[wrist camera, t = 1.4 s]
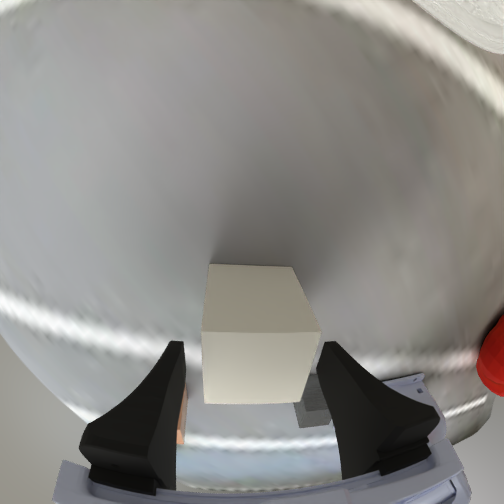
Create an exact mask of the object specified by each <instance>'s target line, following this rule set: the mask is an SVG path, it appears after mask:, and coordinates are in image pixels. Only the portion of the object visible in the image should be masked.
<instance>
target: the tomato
mask: <svg viewBox="0 0 504 504" xmlns="http://www.w3.org/2000/svg"><path fill="white" fill-rule="evenodd" d="M476 368H477V372H478V375H479V377H480V379H481V380H482V382H483V384H484V385H485V386H486V387H487V388H489V389H490V390H491V391H492V392H493V393H495V394H497V395H499V396H502V397H503V396H504V315H503V316H501V318H500V319H499V321H498V323H497V324H496V326H495V327H494V328H493V329H492V330H491V331H490V332H489V334H488V335H487V336H486V338H485V340H484V343H483V345H482V347H481V350H480V354H479V357H478V359H477V365H476Z"/></svg>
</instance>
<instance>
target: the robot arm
mask: <svg viewBox="0 0 504 504" xmlns="http://www.w3.org/2000/svg"><path fill="white" fill-rule="evenodd" d="M316 370H317V375H318V379H319V384H320V387H321V390H322V393H323V395H324V398H325V401H326V403H327V406H328V409H329V412H330V414H331V417H332V420H333V424H334V426H333V429H334V430H335V433H336V437H337V442H338V448H339V454H340V461H341V471H342V480H341V481H337V482H332V483H327V484H322V485H317V486H311V487H305V488H299V489H291V490H283V491H273V492H260V493H236V494H223V493H218V494H217V493H197V492H183V491H176V443H177V427H178V420H179V415H180V409H181V404H182V399H183V394H184V388H185V378H186V363H185V353H184V343H183V341H170V342H169V344H168V346H167V347H166V349H165V351H164V353H163V354H162V356H161V357H160V359H159V360H158V362H157V363H156V365H155V366H154V367H153V369H152V370H151V371H150V373H149V374H148V375H147V376H146V378H145V379H144V380H143V381H142V382H141V384H140V385H139V386H138V387H137V388H136V389H135V390H134V391H133V392H132V393H131V394H130V395H129V396H128V397H126V398H125V399H124V400H123V401H122V402H121V403H120V404H118V405H117V406H116V407H114V408H113V409H111V410H110V411H109V412H107V413H106V414H104V415H103V416H101V417H99V418H98V419H96V420H94V421H92V422H91V423H89V424H88V425H87V427H86V429H85V430H84V433H83V435H82V439H81V442H80V445H79V450H80V452H81V453H82V454H83V455H84V457H85V458H86V459H87V460H88V461H89V462H90V463H91V464H92V465H91V469H88V468H86V467H84V466H81V465H78V464H75V463H72V462H69V461H67V460H63V461H62V464H61V468H60V471H59V475H58V478H57V482H56V486H55V490H54V494H53V498H52V500H53V502H55V503H56V504H469V502H470V500H471V497H470V496H471V494H472V492H471V489H470V486H469V484H468V481H467V478H466V475H465V473H464V471H463V470H464V467H463V465H462V463H461V461H460V459H459V457H458V456H457V454H456V452H455V450H454V448H453V446H452V444H451V443H450V441H449V439H448V438H446V439H444V438H445V435H446V421H445V417H444V415H443V413H442V411H441V410H440V408H439V407H438V405H437V403H436V402H435V400H434V399H433V397H432V395H431V394H430V392H429V391H428V389H427V388H426V386H425V385H424V383H423V382H422V380H423V379H424V377H425V375H424V373H420V374H416V375H412V376H408V377H404V378H399V379H394V380H390V381H385V382H381V381H379V380H378V379H377V378H375V377H374V376H373V375H372V374H370V373H369V372H368V371H367V370H366V369H364V368H363V367H362V366H361V365H360V364H359V363H358V362H357V361H355V360H354V359H353V358H352V357H351V356H350V355H349V354H348V353H347V352H346V351H345V350H344V349H343V348H342V347H341V346H340V345H339V344H338V343H337V342H336V341H330V342H325V343H324V346H323V349H322V352H321V356H320V359H319V362H318V365H317V368H316Z"/></svg>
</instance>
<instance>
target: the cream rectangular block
mask: <svg viewBox="0 0 504 504" xmlns="http://www.w3.org/2000/svg"><path fill="white" fill-rule="evenodd" d="M321 333H322V331H321V329H320V327H319V324H318V322H317V320H316V318H315V316H314V313H313V311H312V309H311V307H310V305H309V303H308V300H307V298H306V296H305V294H304V292H303V290H302V288H301V285H300V283H299V281H298V279H297V277H296V275H295V273H294V271H293V268H292V267H280V266H253V265H228V264H209V270H208V278H207V285H206V293H205V301H204V310H203V318H202V327H201V345H202V368H203V386H204V402H205V403H208V404H272V403H290V402H300V400H301V397H302V394H303V391H304V388H305V385H306V382H307V379H308V376H309V373H310V370H311V366H312V363H313V360H314V357H315V353H316V350H317V347H318V343H319V340H320V336H321Z"/></svg>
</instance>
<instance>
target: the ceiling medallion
mask: <svg viewBox="0 0 504 504" xmlns="http://www.w3.org/2000/svg"><path fill="white" fill-rule="evenodd" d="M412 1H413V2H414V3H415V4H417V5H418V6H419V7H421V8H422V9H423V10H424V11H426V12H427V13H428V14H430V15H431V16H432V17H434V18H435V19H436V20H438V21H439V22H440V23H442V24H443V25H444V26H446V27H447V28H449V29H450V30H451V31H453V32H454V33H456V34H457V35H459V36H460V37H462V38H463V39H465V40H466V41H468V42H470V43H472V44H473V45H475V46H477V47H479V48H481V49H483V50H486V51H488V52H491V53H496V54H504V0H412Z"/></svg>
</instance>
